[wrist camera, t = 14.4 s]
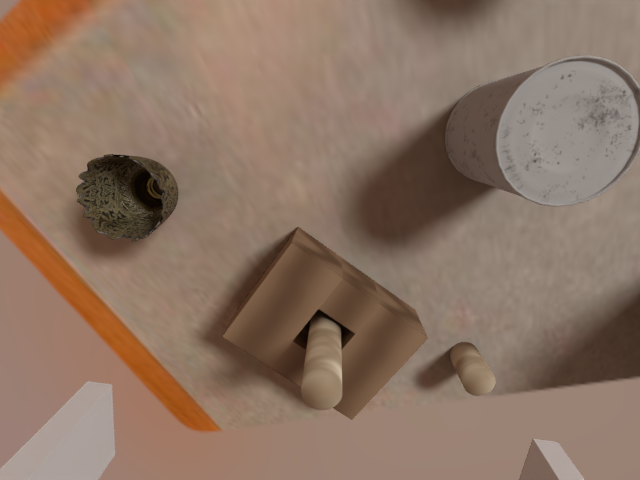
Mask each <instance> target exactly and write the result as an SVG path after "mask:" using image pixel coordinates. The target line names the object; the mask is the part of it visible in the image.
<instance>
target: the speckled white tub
mask: <svg viewBox="0 0 640 480" xmlns="http://www.w3.org/2000/svg"><path fill="white" fill-rule="evenodd" d="M445 146H446V150H447V154H448V157H449V159H450V161H451V163H452V164H453V165H454V167H455V168H456V169H457V170H458V171H459V172H460V173H461V174H463V175H464V176H465V177H467V178H469V179H472V180H474V181H477V182H482V183H485V184H488V185H491V186H494V187H496V188H499V189H502V190H505V191H508V192H510V193H513V194H516V195H519V196H522V197H523V198H525V199H527V200H530V201H532V202H535V203H537V204H540V205H547V206H554V207H558V206H571V205H575V204H578V203H582V202H585V201H588V200H590V199H592V198H594V197H596V196H598V195H600V194H602V193H604V192H605V191H607V190H608V189H609V188H610V187H612V186H613V185H614V184H616V183H617V182H618V181H619V180H620V179H621V178H622V177H623V175H624V174H625V173H626V172H627V171H628V170H629V169H630V167H631V166H632V164H633V162H634V161H635V159H636V157H637V156H638V154H639V152H640V86H639V85H638V83H637V82H636V81H635V79H634V78H633V76H632V75H631V74H630V73H629V72H628V71H626V70H625V69H624V68H623V67H621V66H620V65H619V64H617V63H614V62H612V61H610V60H607V59H605V58H602V57H595V56H588V55H582V56H573V57H566V58H563V59H560V60H557V61H554V62H551V63H549V64H547V65H545V66H543V67H539V68H536V69H533V70H530V71H527V72H523V73H520V74H517V75H514V76H511V77H507V78H504V79H501V80H498V81H491V82H488V83H485V84H482V85H479V86H478V87H476V88H474V89H473V90H471V91H469V92H468V93H467V94H466V95H465V96H464V97H463V98H462V99H460V100H459V102H458V103H457V105H456V106H455V107H454V109H453V110H452V112H451V115H450V117H449V119H448V121H447V126H446V131H445Z"/></svg>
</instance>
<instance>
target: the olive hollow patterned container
mask: <svg viewBox="0 0 640 480" xmlns="http://www.w3.org/2000/svg"><path fill="white" fill-rule="evenodd" d="M87 167H88V169H87V171H86V172H83V173H81V174H80V175H79V178H80V179H82V180H84V182H82V183H81V184H79V185H78V187H77V189H76V192H77V194H79V195H80V196H79V198H78V199H77V202H79V203H80V204H82V205H83V206H84V207H87V208H88V209H87V210H86V211H85V213H84V215H83V217H86V218H91V219H92V221H93V223H92V225H93V227H94V229H95V231H96V232H98V233H101V234H105V235H108V236H109V238H110V239H112V240H117V239H118V238H121V237H125V238H127V239H130V238H133V240H132V241H136V240H138V239H140V238H141V239H143V238H145V237H147V236H148V235H149V234H151V233H152V232H153V231H154V230H155V229H156V228H157V227H159V226H160V225H161V224H162V223H163V222H164V221H165V220H166V219H167V218H168V217H169V216H170V215H171V214H172V212H173V211H174V209H175V207H176V204H177V201H178V187H177V184H176V181H175V179H174V177H173V176H172V174H171V173H170V172H169V171H168V169H166V168H165V167H164V166H163V165H161V164H160V163H158V162H156V161H154V160H151V159H148V158H143V157H137V156H126V155H113V154H108V155H104V157H100V158H96V159H93V160H91V161H90V162H88V164H87ZM85 180H86V181H85ZM155 180H157V181H158V186H159V189H160V190H161V191H162V192H163V194H158V193H157V192H156V191H155V190H154V188H153V183H154V181H155Z"/></svg>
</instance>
